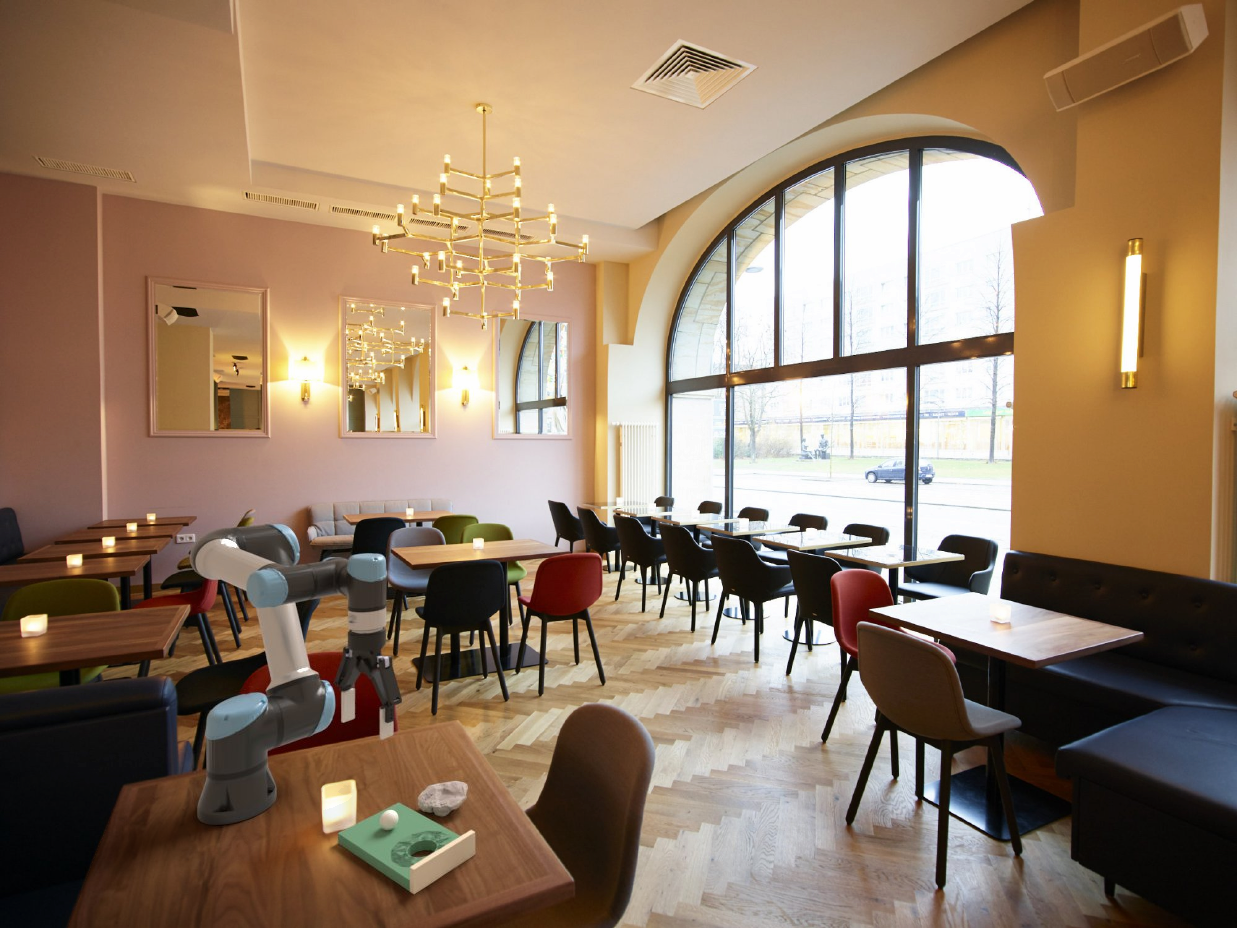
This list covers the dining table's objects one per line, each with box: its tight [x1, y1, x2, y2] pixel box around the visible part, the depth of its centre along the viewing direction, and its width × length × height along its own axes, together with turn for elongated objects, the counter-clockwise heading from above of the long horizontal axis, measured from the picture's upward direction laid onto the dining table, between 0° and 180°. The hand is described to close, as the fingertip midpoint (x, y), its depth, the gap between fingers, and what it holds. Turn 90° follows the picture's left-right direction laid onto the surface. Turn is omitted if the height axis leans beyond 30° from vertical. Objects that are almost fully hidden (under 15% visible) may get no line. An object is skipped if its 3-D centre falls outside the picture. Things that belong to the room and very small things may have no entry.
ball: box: [380, 810, 398, 830], centre depth 128 cm, size 4×4×4 cm
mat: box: [337, 802, 476, 895], centre depth 125 cm, size 25×14×4 cm, turn 53°
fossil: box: [416, 780, 469, 817], centre depth 139 cm, size 9×6×10 cm
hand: (366, 728), depth 133 cm, fingers open, 13 cm apart
